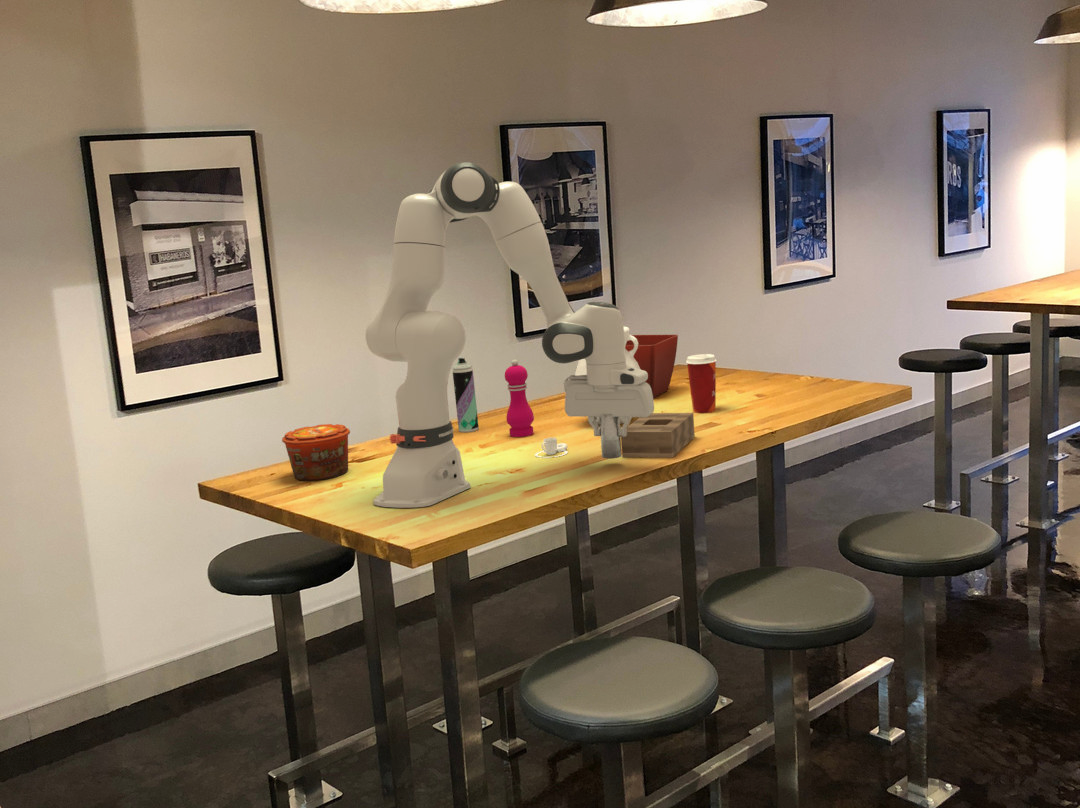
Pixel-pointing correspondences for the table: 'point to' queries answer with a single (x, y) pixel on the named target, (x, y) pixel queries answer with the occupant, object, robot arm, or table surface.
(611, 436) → the pin
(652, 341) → the plant pot
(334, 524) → the table surface
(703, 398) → the coffee cup
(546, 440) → the teacup and saucer
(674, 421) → the socket block
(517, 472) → the table surface
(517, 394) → the pepper mill
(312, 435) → the food container
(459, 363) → the spray can
